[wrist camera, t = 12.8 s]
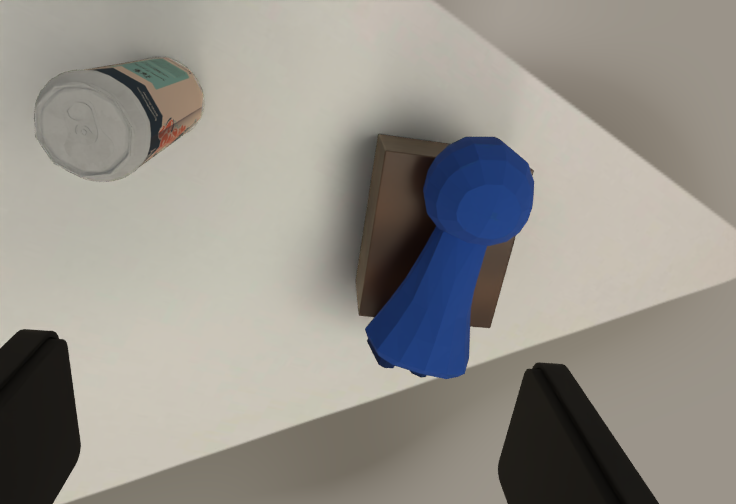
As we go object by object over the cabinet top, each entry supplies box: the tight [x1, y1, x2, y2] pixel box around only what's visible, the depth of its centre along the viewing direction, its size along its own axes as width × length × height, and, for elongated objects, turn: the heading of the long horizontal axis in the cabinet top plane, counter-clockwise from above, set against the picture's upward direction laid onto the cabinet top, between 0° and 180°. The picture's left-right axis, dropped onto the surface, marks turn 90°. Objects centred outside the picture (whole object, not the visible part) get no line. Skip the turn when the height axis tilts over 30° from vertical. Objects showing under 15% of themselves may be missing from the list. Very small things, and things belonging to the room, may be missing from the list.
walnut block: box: [356, 134, 534, 328], centre depth 35 cm, size 11×9×5 cm
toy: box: [365, 137, 534, 379], centre depth 30 cm, size 7×6×15 cm
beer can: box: [34, 57, 204, 182], centre depth 27 cm, size 5×5×12 cm
